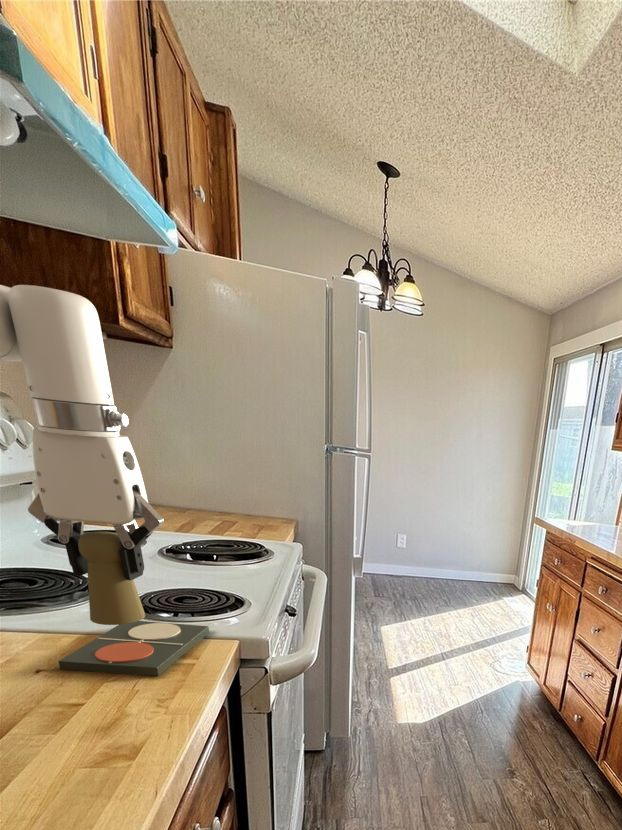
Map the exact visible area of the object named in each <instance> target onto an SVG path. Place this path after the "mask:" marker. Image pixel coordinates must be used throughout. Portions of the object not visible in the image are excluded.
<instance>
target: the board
mask: <svg viewBox="0 0 622 830" xmlns="http://www.w3.org/2000/svg"><path fill="white" fill-rule="evenodd" d="M209 634H210V627H209V626H208V625H197V624H185V623H173V622H172V623H171V622H158V621H147V620H146V621H145V620H139V621H137V622H133V623H128V624H121V625H115V626H114V627H113V628H111V629H109V630H108V631H106V632H104V633H102V634H101V635H99V636H97V637H96V638H94V639H93V640H91V641H89V642H88V643H86V644H84V645H82V646H81V647H79V648H78V649H75V650H74V651H73V652H71V653H70V654H67V655H66V656H64V657H62V658H60V659H59V660H58V662H57V663H58V667H59V669H60V670H66V671H79V672H94V673H109V674H121V675H122V674H123V675H125V674H126V675H139V676H152V677H159V676H160V675H162V674H163V673H164V672H165V671H166V670H168V669H169V668H170V667H171V666H172V665H173V664H175V663H176V662H177V661H178V660H179V659H181V658H183V656H184V655H186V654H187V653H188V652H189V651H190V650H191V649H193V648H194V647H195V646H196V645H197V644H198V643H200V642H201V641H202V640H203V639H204V638H206V637H207V636H208V635H209Z"/></svg>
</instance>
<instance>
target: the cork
mask: <svg viewBox="0 0 622 830" xmlns="http://www.w3.org/2000/svg"><path fill="white" fill-rule="evenodd" d="M121 548H123V544H122V542H121V540H120V538H119V536H118V534H117V533H116V532H112V531H91V532H86V533H83V535H82V536H81V537H80V538H79V541H78V549H79V552H80V553H81V555H82V556H83V557H84V558H85V559H86V560H87V571H88V573H87V586H88V605H89V619H90V622H92V623H94V624H98V625H104V626H118V625H121V624H128V623H133V622H137V621H142V620H144V618H146V612H145V610H144V607H143V604H142V600H141V598H140V595H139V593H138V589H137V587H136V583H135V581H134V579H133V580H126V579H125V578H124V574H123V568H122V563H121V558H120V553H119V550H120V549H121Z"/></svg>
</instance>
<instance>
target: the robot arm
mask: <svg viewBox="0 0 622 830" xmlns="http://www.w3.org/2000/svg"><path fill="white" fill-rule="evenodd" d="M0 362H8V363H9V362H10V363H22V366H23V371H24V376H25V379H26V384H27V388H28V392H29V396H30V400H31V405H32V409H33V413H34V417H35V421H36V425H37V428H32V457H33V459H32V460H33V466H34V473H35V479H36V486H37V489H38V492H37V494H36V495H35V497H34V499H33V500H32V501H31V503H30V505H29V506H28V507H27V511H28V514H30V515H31V516H33V517H34V518H36V519H37V520H38V521H39V522H41V523H42V524H44V525H45V527H46V528H47V529H49V530H50V531H51V532H52V533H53V534H54V535H55V536H57V539H58V541H59V542H60V543H61V544H64V545H65V550H66V553H67V554H66V555H67V559H68V562H69V565H70V566H71V569H72V573H73V575H74V576H75V577H82V576H84V575H86V574H88V571H87V560H86V559H85V558H84V557H83V556H82V555H81V553H80V552H79V549H78V541H79V538H80V537H81V536H82V535H84V527H85V523H95V524H106V525H112V526H113V528H114V530H115V533H117V534H118V536H119V538H120V540H121V542H122V544H123V548H121V549H120V550H119V553H120V558H121V563H122V568H123V574H124V578H125V579H126V580H133V581H134V580H136V579H137V578H139V577H141V576H143V575H144V571H145V562H144V558H143V552H142V547H141V546H142V545H144V544H145V542H146V540H147V539H148V538H149V537H150V536H151V535H152V534H154V532H155V531H156V530H158V529H159V528H160V527H161V526H162V525H164V524H165V520H164V517H162V516H161V515H160V514H159V513H158V511H156V509H155V508H154V507H153V506H152V505H151V504H150V503H149V501H148V496H147V491H146V487H145V483H144V480H143V475H142V472H141V468H140V465H139V462H138V459H137V456H136V454H135V451H134V448H133V445H132V443H131V440H130V439H129V436H127V435H122V434H120V431H121V427H129V417H128V415H127V414H126V413H120V412H119V411H118V410H117V406H116V405H115V400H114V395H113V389H112V384H111V379H110V378H111V377H110V373H109V368H108V366H109V365H108V361H107V356H106V350H105V343H104V339H103V332H102V327H101V322H100V317H99V314H98V311H97V308H96V307H95V305H94V304H93V303H92V302H91V300H89V299H88V298H86V297H84V296H82V295H80V294H77V293H74V292H70V291H67V290H61V289H56V288H52V287H46V286H39V285H34V284H33V285H32V284H31V285H30V284H17V285H14V286H12V287H9V286H6V285H3V284H0ZM136 520H144V522H143V523H142V524H141V525H140V526H138V524H137V522H136Z"/></svg>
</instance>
